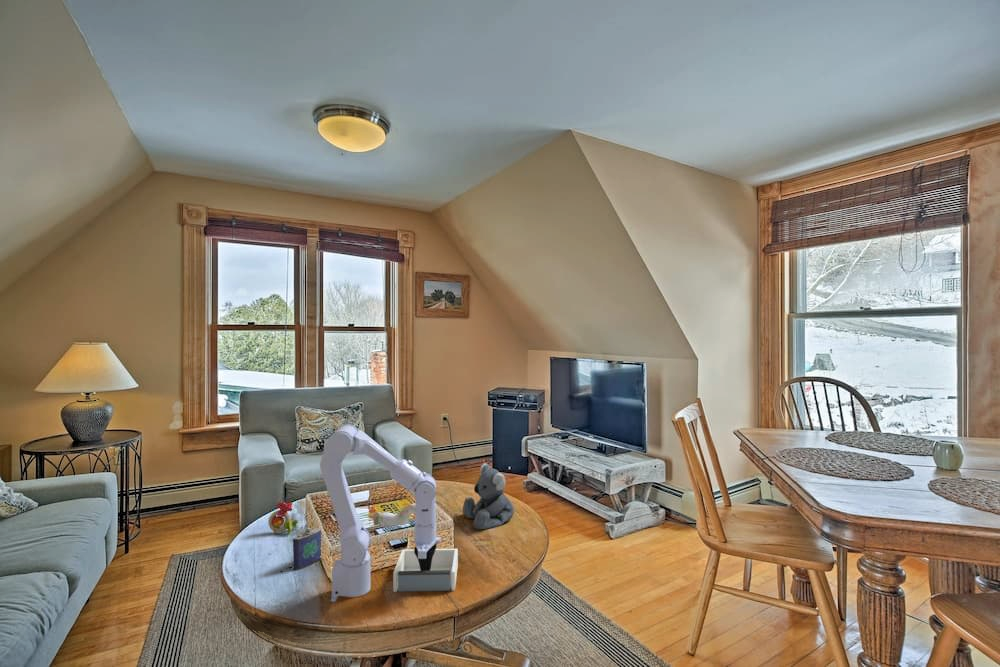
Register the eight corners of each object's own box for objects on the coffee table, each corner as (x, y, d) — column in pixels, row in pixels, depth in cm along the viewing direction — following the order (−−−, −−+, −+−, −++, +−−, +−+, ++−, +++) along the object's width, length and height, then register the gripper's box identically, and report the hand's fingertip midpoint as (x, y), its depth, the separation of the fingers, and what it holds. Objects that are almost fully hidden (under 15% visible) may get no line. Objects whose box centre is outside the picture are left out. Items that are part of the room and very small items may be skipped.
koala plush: (460, 515, 176) (459, 463, 176) (503, 507, 184) (502, 457, 184) (477, 532, 161) (477, 476, 161) (523, 523, 168) (523, 469, 168)
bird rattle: (272, 543, 158) (298, 531, 159) (258, 514, 157) (284, 501, 158) (278, 535, 164) (303, 523, 165) (264, 507, 163) (290, 495, 165)
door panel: (397, 591, 122) (397, 573, 122) (398, 589, 123) (398, 571, 123) (450, 590, 122) (450, 572, 122) (450, 588, 124) (450, 570, 124)
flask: (318, 555, 144) (318, 521, 144) (324, 558, 143) (324, 523, 143) (291, 568, 137) (291, 532, 136) (297, 571, 135) (297, 534, 135)
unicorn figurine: (425, 548, 149) (425, 506, 149) (365, 547, 150) (365, 505, 150) (430, 538, 156) (430, 498, 156) (373, 537, 157) (372, 497, 157)
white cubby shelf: (393, 596, 122) (393, 573, 122) (402, 570, 135) (402, 549, 135) (454, 594, 123) (454, 572, 122) (457, 569, 136) (457, 548, 136)
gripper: (437, 533, 118) (437, 587, 119) (442, 511, 133) (443, 559, 133) (409, 534, 118) (410, 587, 118) (417, 512, 133) (418, 559, 133)
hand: (425, 572), depth 126 cm, fingers closed
